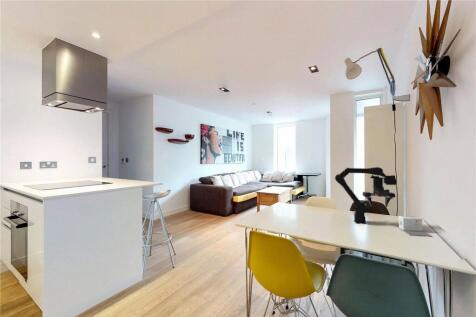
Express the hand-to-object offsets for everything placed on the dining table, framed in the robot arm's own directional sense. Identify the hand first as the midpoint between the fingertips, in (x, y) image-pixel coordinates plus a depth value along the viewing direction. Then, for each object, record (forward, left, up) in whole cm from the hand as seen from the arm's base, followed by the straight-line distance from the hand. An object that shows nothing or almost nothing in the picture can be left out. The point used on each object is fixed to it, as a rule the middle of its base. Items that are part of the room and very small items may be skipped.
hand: (378, 206), depth 145 cm
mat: (+15, -11, -12) cm, 22 cm away
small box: (+9, -10, -8) cm, 15 cm away
